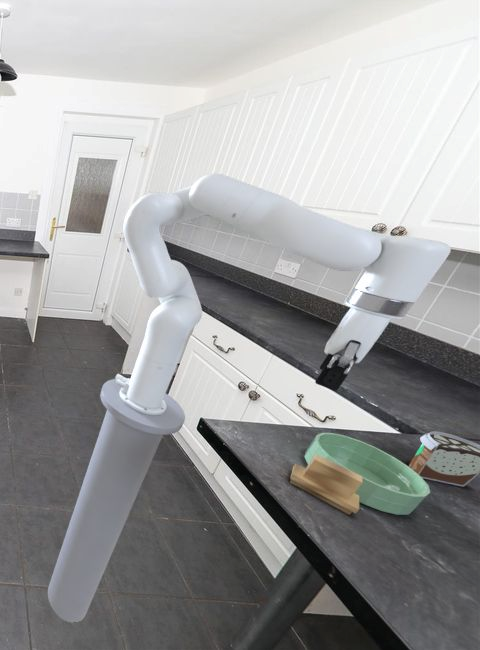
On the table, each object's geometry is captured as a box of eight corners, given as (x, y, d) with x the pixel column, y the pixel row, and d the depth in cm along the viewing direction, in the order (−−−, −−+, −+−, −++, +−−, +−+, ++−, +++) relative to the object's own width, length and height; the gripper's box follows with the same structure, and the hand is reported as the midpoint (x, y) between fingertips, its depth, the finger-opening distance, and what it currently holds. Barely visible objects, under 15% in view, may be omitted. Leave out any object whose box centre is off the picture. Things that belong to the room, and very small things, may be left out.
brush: (287, 482, 73) (304, 457, 70) (290, 471, 76) (306, 446, 73) (352, 517, 66) (374, 491, 63) (352, 503, 69) (373, 478, 66)
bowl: (299, 473, 75) (312, 453, 73) (307, 440, 86) (319, 423, 84) (415, 533, 64) (435, 513, 62) (407, 487, 75) (424, 468, 72)
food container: (442, 467, 82) (470, 436, 78) (471, 488, 76) (503, 456, 73) (384, 455, 84) (408, 424, 80) (408, 475, 78) (436, 443, 74)
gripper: (350, 290, 70) (308, 359, 77) (347, 304, 59) (298, 383, 66) (404, 303, 65) (353, 375, 72) (412, 321, 54) (351, 404, 61)
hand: (327, 378), depth 69 cm, fingers open, 9 cm apart
